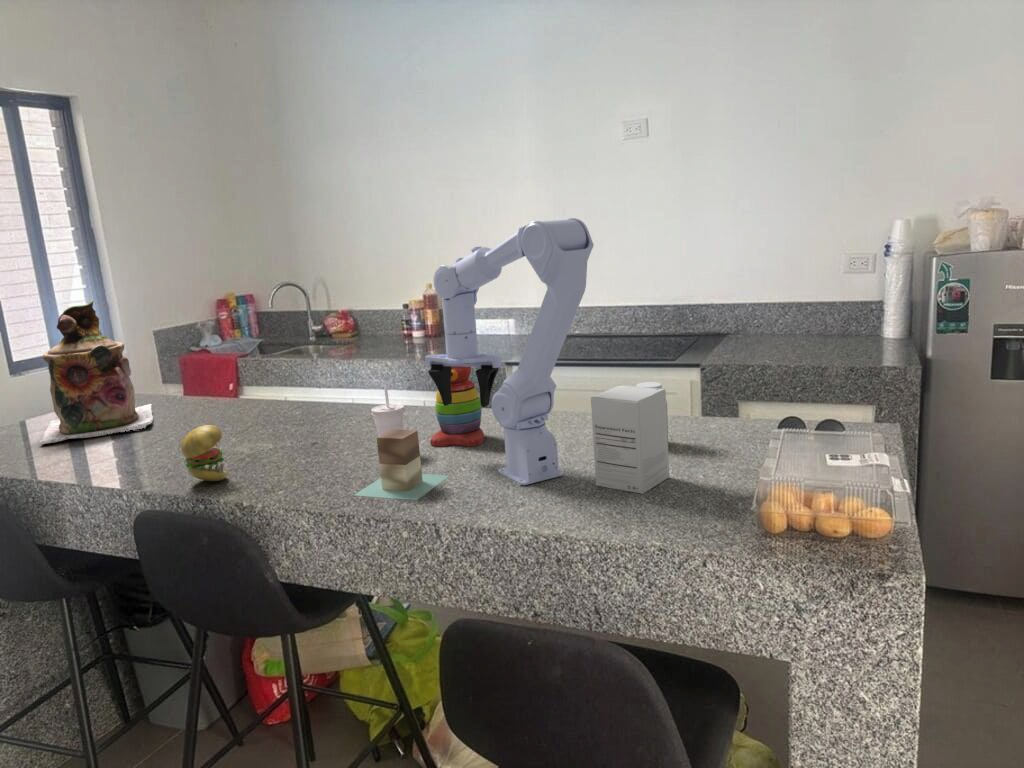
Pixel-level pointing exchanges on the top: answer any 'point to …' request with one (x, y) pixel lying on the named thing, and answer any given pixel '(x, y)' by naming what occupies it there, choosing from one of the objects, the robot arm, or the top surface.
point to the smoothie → (388, 416)
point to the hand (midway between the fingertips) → (466, 405)
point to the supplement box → (630, 438)
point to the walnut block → (398, 447)
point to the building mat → (413, 494)
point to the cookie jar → (90, 381)
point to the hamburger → (204, 453)
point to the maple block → (401, 475)
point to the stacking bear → (459, 413)
